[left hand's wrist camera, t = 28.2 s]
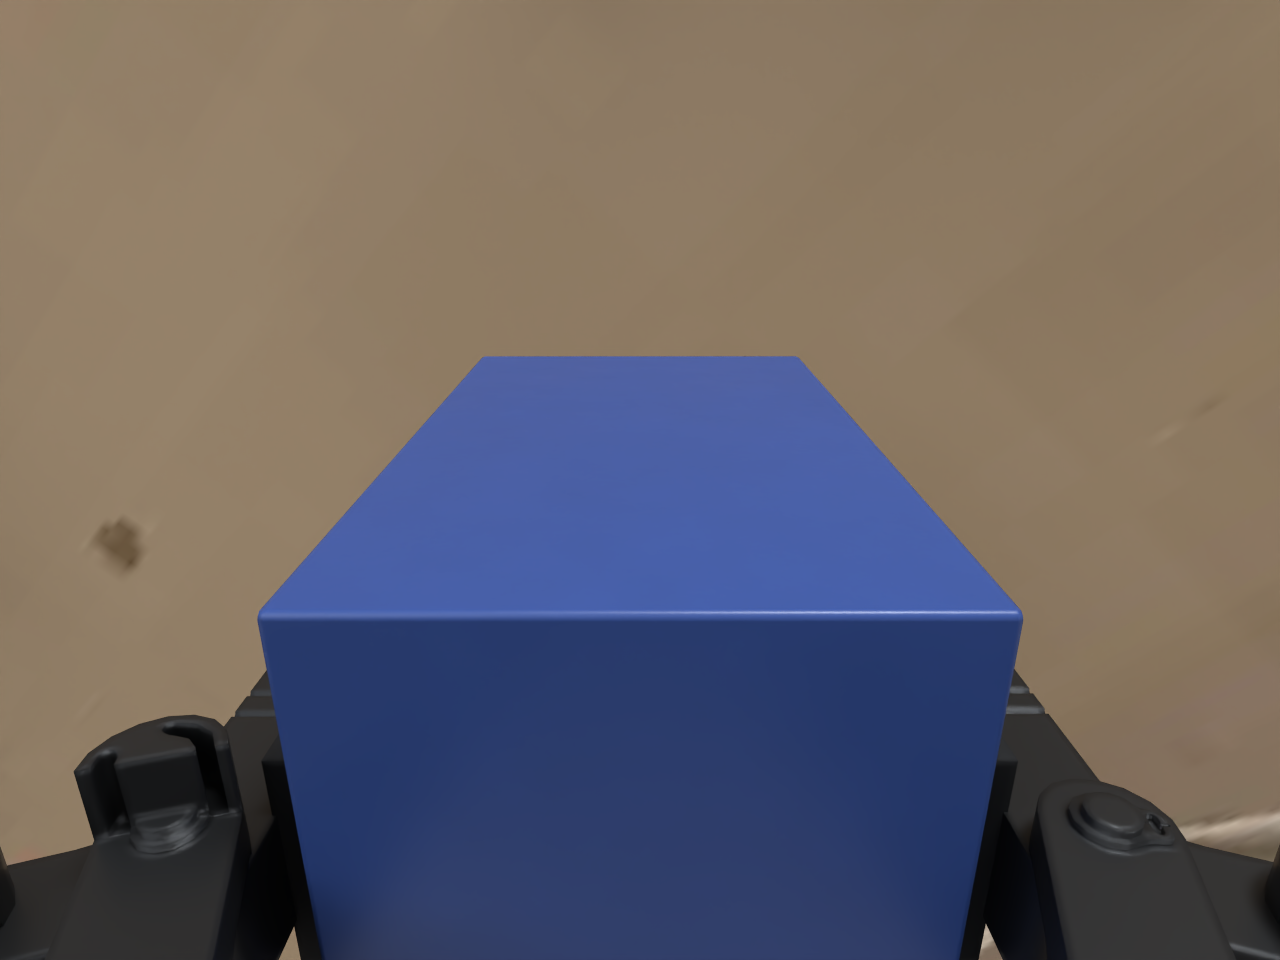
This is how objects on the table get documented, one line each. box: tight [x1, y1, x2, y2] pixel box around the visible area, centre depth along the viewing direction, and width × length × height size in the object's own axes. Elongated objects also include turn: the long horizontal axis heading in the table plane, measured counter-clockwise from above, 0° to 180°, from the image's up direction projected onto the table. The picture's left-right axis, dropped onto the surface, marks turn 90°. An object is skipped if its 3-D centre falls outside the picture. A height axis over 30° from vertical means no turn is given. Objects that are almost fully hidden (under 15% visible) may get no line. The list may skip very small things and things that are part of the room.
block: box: [258, 356, 1023, 960], centre depth 12 cm, size 7×6×10 cm
